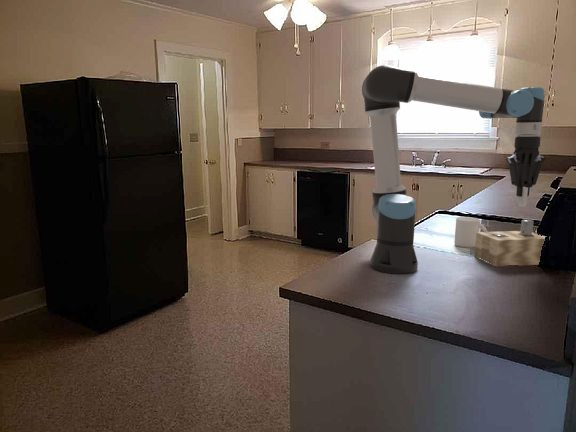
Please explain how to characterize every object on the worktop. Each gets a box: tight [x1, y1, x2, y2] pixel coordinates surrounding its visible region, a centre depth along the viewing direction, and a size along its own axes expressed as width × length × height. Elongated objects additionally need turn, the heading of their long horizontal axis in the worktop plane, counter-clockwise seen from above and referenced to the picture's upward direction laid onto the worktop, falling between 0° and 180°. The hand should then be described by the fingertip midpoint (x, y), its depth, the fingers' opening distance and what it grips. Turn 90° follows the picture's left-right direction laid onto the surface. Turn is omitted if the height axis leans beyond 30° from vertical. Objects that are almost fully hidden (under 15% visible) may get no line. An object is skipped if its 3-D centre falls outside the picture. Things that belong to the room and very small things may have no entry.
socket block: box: [473, 230, 546, 267], centre depth 152 cm, size 20×12×9 cm, turn 99°
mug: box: [453, 216, 488, 249], centre depth 170 cm, size 9×12×11 cm
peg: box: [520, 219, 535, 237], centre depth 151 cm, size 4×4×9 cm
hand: (521, 205), depth 149 cm, fingers closed
